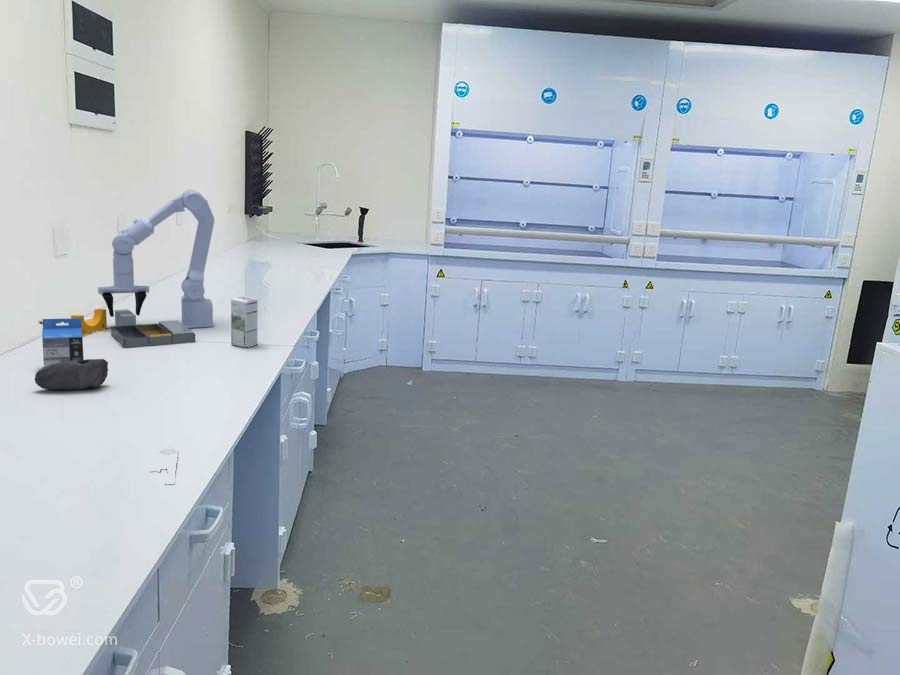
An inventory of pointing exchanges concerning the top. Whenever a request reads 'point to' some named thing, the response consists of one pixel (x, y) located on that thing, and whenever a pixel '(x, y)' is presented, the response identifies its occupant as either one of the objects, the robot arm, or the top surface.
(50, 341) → the ink cartridge box
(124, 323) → the tall blue-grey block
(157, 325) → the grey compartment tray
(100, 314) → the pipe clamp
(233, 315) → the syrup box
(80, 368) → the perforated stone tool
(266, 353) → the top surface
